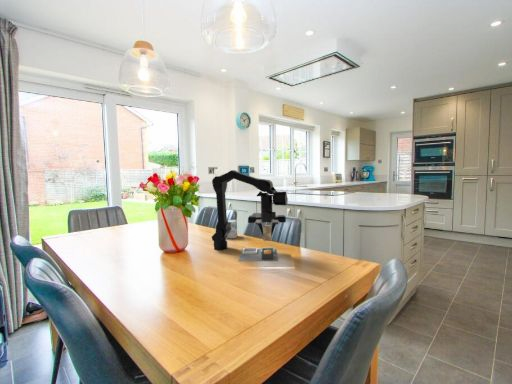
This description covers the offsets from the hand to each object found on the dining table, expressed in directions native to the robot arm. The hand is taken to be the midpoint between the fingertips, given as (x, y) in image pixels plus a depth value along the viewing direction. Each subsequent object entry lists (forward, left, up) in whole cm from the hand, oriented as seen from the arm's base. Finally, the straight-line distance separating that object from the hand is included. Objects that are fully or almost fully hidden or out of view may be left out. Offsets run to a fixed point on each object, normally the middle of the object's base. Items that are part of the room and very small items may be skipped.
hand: (267, 235), depth 132 cm
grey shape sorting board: (-4, -5, -9) cm, 11 cm away
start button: (0, -9, -8) cm, 12 cm away
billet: (0, 0, -2) cm, 2 cm away
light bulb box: (-25, +34, -10) cm, 44 cm away
